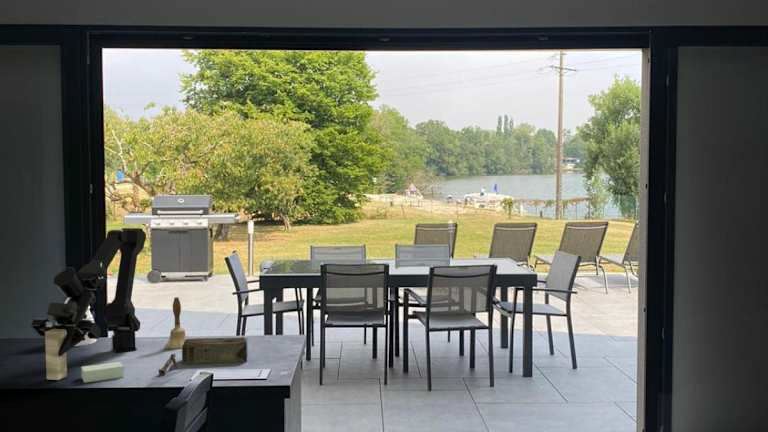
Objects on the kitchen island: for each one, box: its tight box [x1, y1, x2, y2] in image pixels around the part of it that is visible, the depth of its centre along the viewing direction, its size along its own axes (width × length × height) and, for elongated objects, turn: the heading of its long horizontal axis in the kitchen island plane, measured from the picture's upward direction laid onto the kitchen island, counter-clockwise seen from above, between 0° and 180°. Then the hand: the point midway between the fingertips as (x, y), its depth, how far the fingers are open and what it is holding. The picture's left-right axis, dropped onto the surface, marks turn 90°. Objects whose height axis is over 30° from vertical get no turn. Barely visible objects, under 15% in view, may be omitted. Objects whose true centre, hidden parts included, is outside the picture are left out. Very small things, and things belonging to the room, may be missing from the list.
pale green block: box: [80, 361, 125, 383], centre depth 192 cm, size 10×6×3 cm, turn 120°
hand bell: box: [164, 296, 188, 350], centre depth 227 cm, size 8×8×16 cm
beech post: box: [44, 329, 68, 381], centre depth 190 cm, size 4×4×13 cm
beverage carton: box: [181, 336, 249, 365], centre depth 209 cm, size 8×19×7 cm, turn 99°
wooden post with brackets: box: [157, 353, 178, 376], centre depth 198 cm, size 2×8×4 cm, turn 167°
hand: (52, 355), depth 189 cm, fingers closed on beech post, 4 cm apart
